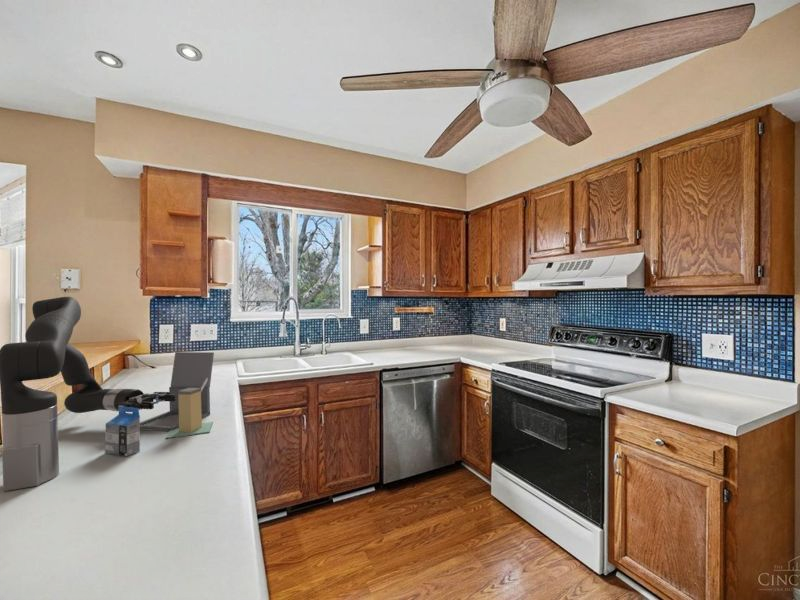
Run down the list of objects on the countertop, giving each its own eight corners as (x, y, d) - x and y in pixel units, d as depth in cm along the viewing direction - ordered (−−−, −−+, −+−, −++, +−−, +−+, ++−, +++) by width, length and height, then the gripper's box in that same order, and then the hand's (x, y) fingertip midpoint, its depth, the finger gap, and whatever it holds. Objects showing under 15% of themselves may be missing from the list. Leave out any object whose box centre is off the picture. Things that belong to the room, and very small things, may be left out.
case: (173, 431, 116) (171, 361, 116) (131, 428, 119) (129, 360, 119) (215, 411, 135) (214, 352, 135) (178, 410, 138) (176, 351, 138)
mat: (209, 432, 114) (209, 431, 114) (165, 439, 109) (165, 437, 109) (213, 422, 123) (213, 421, 123) (172, 428, 118) (172, 427, 118)
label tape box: (104, 453, 100) (103, 409, 100) (119, 447, 103) (118, 405, 103) (126, 457, 97) (125, 412, 97) (141, 451, 101) (140, 407, 101)
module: (191, 432, 113) (190, 391, 113) (179, 431, 114) (177, 391, 114) (202, 426, 118) (201, 387, 118) (190, 426, 119) (189, 387, 119)
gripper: (102, 394, 114) (144, 396, 111) (142, 384, 128) (181, 385, 125) (102, 418, 114) (145, 420, 111) (142, 404, 128) (181, 406, 125)
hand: (164, 401), depth 118 cm, fingers open, 8 cm apart
